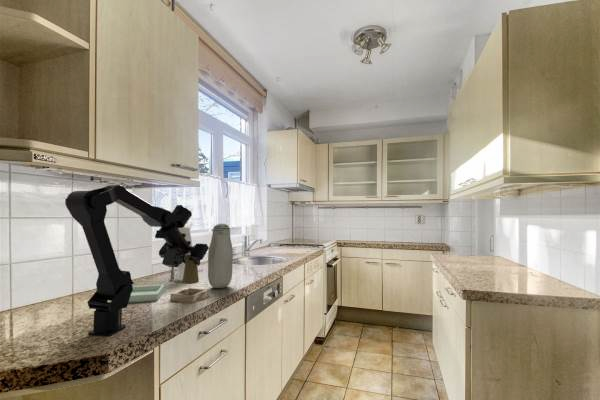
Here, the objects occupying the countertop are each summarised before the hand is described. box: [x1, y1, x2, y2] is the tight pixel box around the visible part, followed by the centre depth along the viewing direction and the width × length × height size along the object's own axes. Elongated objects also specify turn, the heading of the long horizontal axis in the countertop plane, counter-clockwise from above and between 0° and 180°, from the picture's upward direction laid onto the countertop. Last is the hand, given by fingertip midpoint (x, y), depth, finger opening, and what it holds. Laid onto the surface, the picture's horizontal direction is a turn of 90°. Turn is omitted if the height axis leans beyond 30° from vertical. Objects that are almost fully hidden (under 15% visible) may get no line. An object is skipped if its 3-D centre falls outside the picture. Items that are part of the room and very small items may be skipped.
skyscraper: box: [169, 221, 193, 283], centre depth 145 cm, size 8×8×28 cm
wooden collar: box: [169, 287, 210, 304], centre depth 113 cm, size 10×10×2 cm
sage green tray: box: [128, 284, 166, 304], centre depth 114 cm, size 15×15×2 cm
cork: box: [181, 253, 200, 285], centre depth 113 cm, size 6×6×11 cm
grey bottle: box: [207, 223, 234, 289], centre depth 130 cm, size 10×10×28 cm
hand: (193, 264), depth 115 cm, fingers closed on cork, 5 cm apart
